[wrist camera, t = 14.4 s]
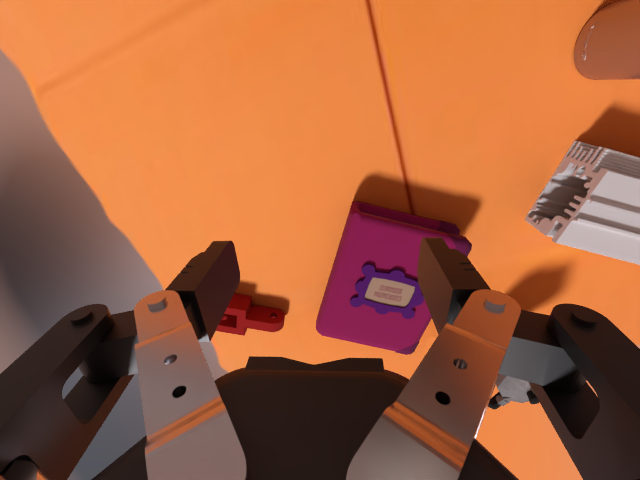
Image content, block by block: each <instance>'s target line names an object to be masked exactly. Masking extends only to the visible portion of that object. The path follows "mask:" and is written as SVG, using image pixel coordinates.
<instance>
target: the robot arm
mask: <svg viewBox="0 0 640 480" xmlns="http://www.w3.org/2000/svg"><path fill="white" fill-rule="evenodd" d="M574 62H575V66H576V68H577V70H578V72H579V73H580V74H582V75H583V76H584V77H586V78H588V79H593V80H611V79H640V0H619V1H616V2H613V3H611V4H609V5H607V6H605V7H604V8H602V9H601V10H600V11H598V12H597V13H596V14H595V15H594V16H593V17H592V18H591V19H590V20H589V21H588V22H587V24H586V25H585V26H584V28H583V29H582V31H581V33H580V35H579V37H578V39H577V42H576V45H575V50H574ZM417 279H418V284H419V286H420V289H421V291H422V294H423V296H424V299H425V301H426V304H427V306H428V309H429V312H430V314H431V317H432V319H433V322H434V324H435V327H436V329H437V332H438V334H439V335H438V337H437V338H436V340H435V341H434V343H433V345H432V346H431V348H430V349H429V351H428V352H427V354H426V355H425V357H424V358H423V360H422V362H421V363H420V365H419V366H418V368H417V369H416V371H415V372H414V374H413V375H412V377H411V378H410V380H409V379H407V378H405V377H403V376H401V375H399V374H397V373H394V372H391V371H388V370H384V367H383V360H382V358H346V359H341V360H336V361H332V362H327V363H322V364H317V365H312V364H308V363H303V362H299V361H295V360H291V359H287V358H283V357H249V359H248V362H247V365H246V367H245V368H241V369H238V370H235V371H232V372H230V373H227V374H225V375H224V376H222V377H220V378H218V379H217V380H215V381H214V379H213V377H212V374H211V372H210V370H209V367H208V364H207V362H206V359H205V357H204V354H203V352H202V349H201V347H200V344H199V342H210V341H211V339H212V337H213V335H214V333H215V331H216V329H217V327H218V325H219V323H220V321H221V319H222V317H223V315H224V313H225V311H226V309H227V307H228V305H229V303H230V301H231V299H232V297H233V295H234V293H235V291H236V289H237V287H238V285H239V281H240V271H239V266H238V261H237V256H236V252H235V247H234V244H233V242H232V241H213V242H212V243H211V245H210V246H209V247H208V248H207V250H206V251H205V252H201V253H200V254H198V255H197V256H195V257H194V258H192V259H191V260H190V261H189V263H188V264H187V265H186V267H184V268H183V270H182V271H181V273H179V274H178V275H177V277H176V278H175V279H174V280H173V281H172V283H171V284H170V285H169V286H168V287H167V288H166V290H164V291H159V292H155V293H152V294H150V295H148V296H146V297H144V298H143V299H141V300H140V301H139V302H138V303H137V304H136V306H135V308H134V310H133V311H128V312H123V313H118V314H113V315H111V314H110V312H109V310H108V308H107V307H106V306H105V305H102V304H92V305H88V306H84V307H81V308H79V309H76V310H74V311H73V312H71V313H69V314H68V315H66V316H65V317H63V318H62V319H61V320H60V321H59V322H57V323H56V324H55V325H54V326H53V327H52V328H51V329H50V330H49V331H48V332H46V333H45V334H44V335H43V336H42V337H41V338H40V339H39V340H38V341H37V342H35V343H34V344H33V345H32V346H31V347H30V348H29V349H28V350H26V351H25V353H23V354H22V355H21V356H20V357H19V358H18V359H17V360H15V361H14V362H13V363H12V364H11V365H10V366H9V367H8V368H7V369H6V370H4V371H3V372H2V373H1V374H0V480H67V479H68V477H69V476H70V474H71V472H72V471H73V469H74V468H75V466H76V465H77V463H78V462H79V460H80V458H81V457H82V455H83V454H84V452H85V451H86V449H87V447H88V446H89V444H90V443H91V441H92V439H93V438H94V437H95V435H96V433H97V432H98V430H99V429H100V427H101V426H102V424H103V422H104V421H105V419H106V418H107V416H108V414H109V413H110V412H111V410H112V408H113V407H114V405H115V404H116V402H117V401H118V399H119V398H120V396H121V394H122V393H123V391H124V390H125V388H126V387H127V385H128V383H129V382H130V380H131V379H132V377H133V376H134V374H135V373H138V375H139V383H140V391H141V398H142V406H143V412H144V421H145V428H146V436H145V437H144V438H142V439H141V440H140V441H139V442H138V443H136V444H135V445H134V446H133V447H131V448H130V449H129V450H128V451H126V452H125V453H124V454H123V455H121V456H120V457H119V458H118V459H116V460H115V461H114V462H113V463H112V464H110V465H109V466H108V467H107V468H105V469H104V470H103V471H102V472H101V473H99V474H98V475H97V476H96V477H94V478H93V479H92V480H519V479H518V478H516V477H515V476H514V475H513V474H512V473H511V472H510V471H509V470H508V469H507V468H506V467H505V466H504V465H502V463H500V462H499V461H498V460H497V459H496V458H495V457H494V456H493V455H492V454H491V453H490V452H489V451H488V450H487V449H485V447H483V446H482V445H481V444H480V443H479V442H478V441H477V440H476V437H477V434H478V431H479V428H480V425H481V423H482V420H483V417H484V415H485V412H486V409H487V406H488V404H489V401H490V398H491V395H492V393H493V390H494V387H495V384H496V382H497V379H498V376H499V374H502V375H506V376H509V377H513V378H517V379H520V380H524V381H528V382H529V384H530V386H531V388H532V389H533V391H534V393H535V395H536V396H537V398H538V400H539V402H540V403H541V405H542V407H543V409H544V411H545V412H546V414H547V416H548V418H549V419H550V421H551V423H552V425H553V427H554V428H555V430H556V432H557V434H558V435H559V437H560V439H561V441H562V443H563V444H564V446H565V448H566V450H567V451H568V453H569V455H570V457H571V458H572V460H573V462H574V464H575V466H576V467H577V469H578V471H579V473H580V475H581V476H582V478H583V480H640V349H639V348H638V347H637V346H636V345H635V344H634V343H633V342H632V341H631V340H630V339H629V338H628V337H627V336H625V335H624V334H623V333H622V332H621V331H620V330H619V329H618V328H617V327H616V326H615V325H614V324H613V323H612V322H611V321H610V320H608V319H607V318H606V317H605V316H603V315H601V314H600V313H598V312H596V311H594V310H592V309H589V308H586V307H583V306H580V305H575V304H559V305H556V306H555V307H554V308H553V310H552V312H551V315H550V316H549V315H544V314H539V313H534V312H529V311H524V310H521V307H520V305H519V304H518V302H517V301H516V300H514V299H513V298H512V297H510V296H508V295H506V294H504V293H502V292H499V291H495V290H491V289H490V288H489V286H488V285H487V283H486V282H485V281H484V279H483V278H482V277H481V275H480V274H479V273H478V271H476V269H475V267H474V266H473V265H472V264H471V262H470V260H469V259H468V258H467V256H466V255H465V254H463V253H461V252H460V251H458V250H457V249H450V248H449V247H448V245H447V244H446V242H445V241H444V239H443V238H442V237H423V238H422V240H421V244H420V252H419V260H418V268H417ZM77 367H79V369H80V371H81V372H82V374H83V377H82V378H81V379H80V380H79V381H78V383H77V384H76V385H75V387H74V388H73V389H72V390H71V391H70V393H69V394H68V395H67V396H66V397H65V399H64V400H63V398H62V389H63V386H64V384H65V382H66V380H67V379H68V378H69V377H70V375H71V374H72V373H73V372H74V371H75V370H76V369H77ZM586 380H587V381H588V382H589V383H590V385H591V386H592V387H593V388H594V390H595V392H596V393H597V396H598V397H597V396H596V394H595V393H594V392H593V390H592V389H591V388H590V387H589V385H588V384H587V382H586Z"/></svg>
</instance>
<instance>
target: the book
mask: <svg viewBox="0 0 640 480" xmlns="http://www.w3.org/2000/svg"><path fill="white" fill-rule="evenodd" d="M459 231H460V230H459V229H458V227H457V226H456V225H455V224H452V223H448V222H444V221H440V220H439V221H436V220H432V219H428V218H424V217H420V216H416V215H412V214H408V213H404V212H399V211H395V210H391V209H387V208H383V207H379V206H375V205H371V204H367V203H363V202H359V201H353V202H352V205H351V208H350V212H349V215H348V218H347V221H346V225H345V228H344V231H343V235H342V238H341V241H340V244H339V248H338V251H337V254H336V257H335V261H334V264H333V267H332V270H331V274H330V277H329V280H328V283H327V287H326V290H325V293H324V297H323V300H322V303H321V306H320V310H319V313H318V316H317V320H316V330H317V331H318V333H320V334H321V335H323V336H327V337H332V338H336V339H341V340H346V341H350V342H355V343H359V344H364V345H369V346H373V347H378V348H383V349H387V350H392V351H396V352H397V353H401V354H406V355H407V354H411V353H413V352H414V351H415V349H416V347H417V345H418V343H419V340H420V338H421V336H422V334H423V333H424V331H425V329H426V327H427V325H428V324H429V322H430V320H431V318H432V317H431V314H430V312H429V309H428V306H427V304H426V301H425V299H424V296H423V294H422V291H421V289H420V286H419V284H418V279H417V268H418V260H419V252H420V244H421V240H422V238H423V237H442V238H443V239H444V241H445V242H446V244H447V245H448V247H449V248H450V249H457V250H458V251H460V252H461V253H463V254H465V255H466V256H468V254H469V252H470V250H471V246H472V244H471V243H470V242H469V241H468V239H467V238H466V237H463V236H459Z"/></svg>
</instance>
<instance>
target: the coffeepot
mask: <svg viewBox="0 0 640 480" xmlns="http://www.w3.org/2000/svg"><path fill="white" fill-rule="evenodd" d="M496 385H497V388H498V390H499V392H498V393H497V394H496V395H495V396H494V397H492V398H490V401H489V404H488V407H490V408H492V409H497V408H498V407H500V406H501V405H503V406H504V405H506V404H507V403H509V402H510V401H515V402H521V403H524V402H527V401H530V403H531V404H537V403H539V400H538V398H537V396H536V395H535V393H534V391H533V389H532V388H531V386H530V384H529V382H528V381H524V380H520V379H517V378H513V377H509V376H506V375H502V374H499V376H498V379H497V382H496Z"/></svg>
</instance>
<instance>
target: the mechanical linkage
mask: <svg viewBox="0 0 640 480" xmlns="http://www.w3.org/2000/svg"><path fill="white" fill-rule="evenodd" d="M251 302H252V296H248V295H242V294H236V293H234V295H233V297H232V299H231V301H230V303H229V305H228V307H227V309H226V311H225V313H224V315H223V317H222V319H221V321H220V323H219V325H218V327H217V329H216V331H220V332H226V333H232V334H238V335H245V332H246V330H247V328H251V329H257V330H263V331H269V332H276V331H279V330H280V329H282V327H283V325H284V318H285V314H284V312H283V311H282V310H280V309H276V308H270V307H264V306H258V305H252V304H251Z"/></svg>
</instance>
